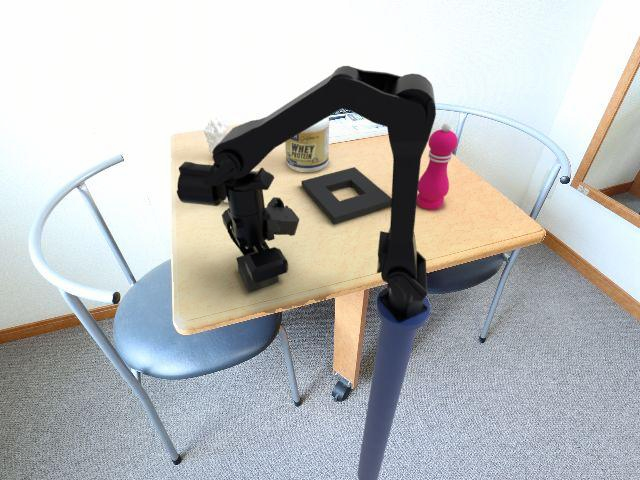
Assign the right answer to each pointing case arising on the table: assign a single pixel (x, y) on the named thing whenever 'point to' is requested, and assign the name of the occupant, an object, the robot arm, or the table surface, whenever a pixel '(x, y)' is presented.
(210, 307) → the table surface
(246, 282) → the small pad
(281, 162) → the table surface
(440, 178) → the pepper mill
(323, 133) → the supplement tub
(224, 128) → the figurine
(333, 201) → the socket pad
